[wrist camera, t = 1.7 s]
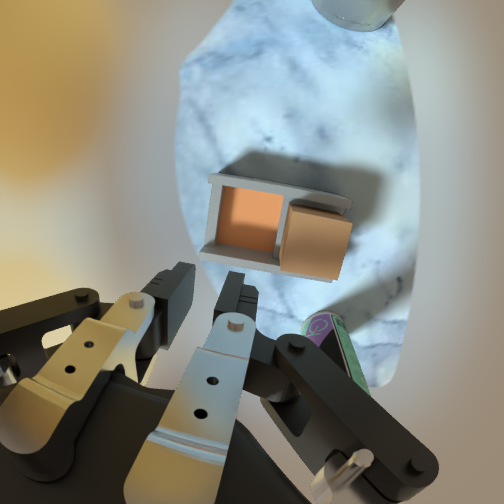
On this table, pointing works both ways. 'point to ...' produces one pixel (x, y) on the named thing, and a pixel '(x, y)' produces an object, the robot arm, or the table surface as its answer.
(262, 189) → the channel
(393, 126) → the table surface
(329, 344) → the spray can
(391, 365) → the table surface
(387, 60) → the table surface
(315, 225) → the walnut block
